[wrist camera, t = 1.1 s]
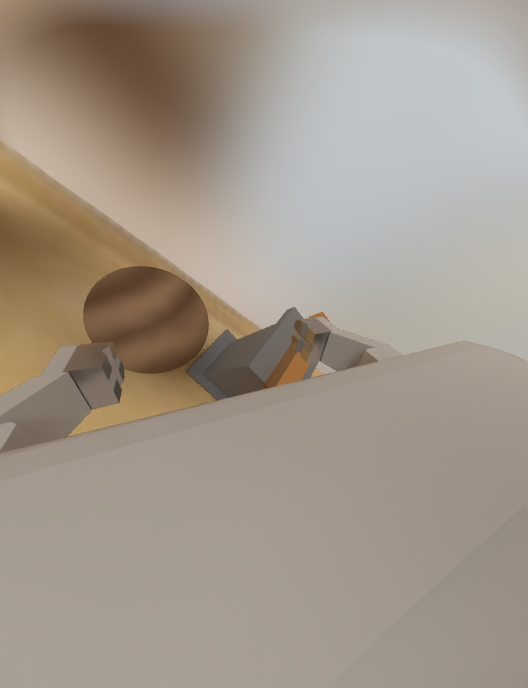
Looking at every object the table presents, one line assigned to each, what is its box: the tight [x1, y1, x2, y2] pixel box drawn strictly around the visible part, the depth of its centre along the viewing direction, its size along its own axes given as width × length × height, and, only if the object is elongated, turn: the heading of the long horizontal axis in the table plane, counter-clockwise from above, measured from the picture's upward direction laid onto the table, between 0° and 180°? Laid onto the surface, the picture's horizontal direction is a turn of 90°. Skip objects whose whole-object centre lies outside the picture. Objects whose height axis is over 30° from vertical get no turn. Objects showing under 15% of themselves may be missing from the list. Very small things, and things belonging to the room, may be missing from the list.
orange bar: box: [260, 312, 330, 390], centre depth 29 cm, size 3×25×3 cm, turn 140°
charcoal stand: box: [186, 307, 319, 401], centre depth 43 cm, size 14×15×26 cm
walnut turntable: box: [83, 266, 209, 373], centre depth 30 cm, size 16×16×1 cm
